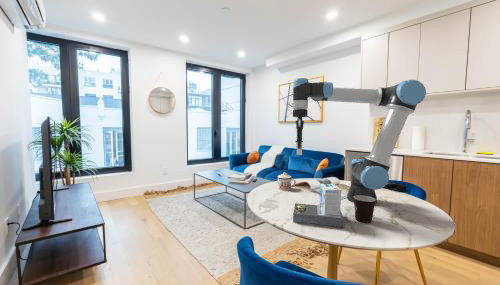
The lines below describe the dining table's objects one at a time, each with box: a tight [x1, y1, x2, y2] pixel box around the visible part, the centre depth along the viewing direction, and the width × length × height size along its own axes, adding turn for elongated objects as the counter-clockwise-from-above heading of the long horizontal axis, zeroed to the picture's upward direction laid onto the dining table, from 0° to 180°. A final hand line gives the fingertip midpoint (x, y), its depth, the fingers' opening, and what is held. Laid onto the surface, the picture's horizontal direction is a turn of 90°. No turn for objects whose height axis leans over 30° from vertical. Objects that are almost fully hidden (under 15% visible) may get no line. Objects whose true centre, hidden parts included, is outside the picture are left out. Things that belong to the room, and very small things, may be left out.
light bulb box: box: [318, 183, 342, 215], centre depth 99 cm, size 11×7×11 cm, turn 175°
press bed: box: [292, 202, 345, 229], centre depth 100 cm, size 20×14×4 cm
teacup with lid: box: [277, 172, 297, 191], centre depth 147 cm, size 12×9×12 cm
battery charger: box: [382, 181, 407, 193], centre depth 152 cm, size 13×10×4 cm
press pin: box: [297, 205, 305, 210], centre depth 102 cm, size 4×4×4 cm
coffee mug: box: [353, 195, 376, 225], centre depth 100 cm, size 12×9×10 cm
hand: (299, 154), depth 118 cm, fingers closed
